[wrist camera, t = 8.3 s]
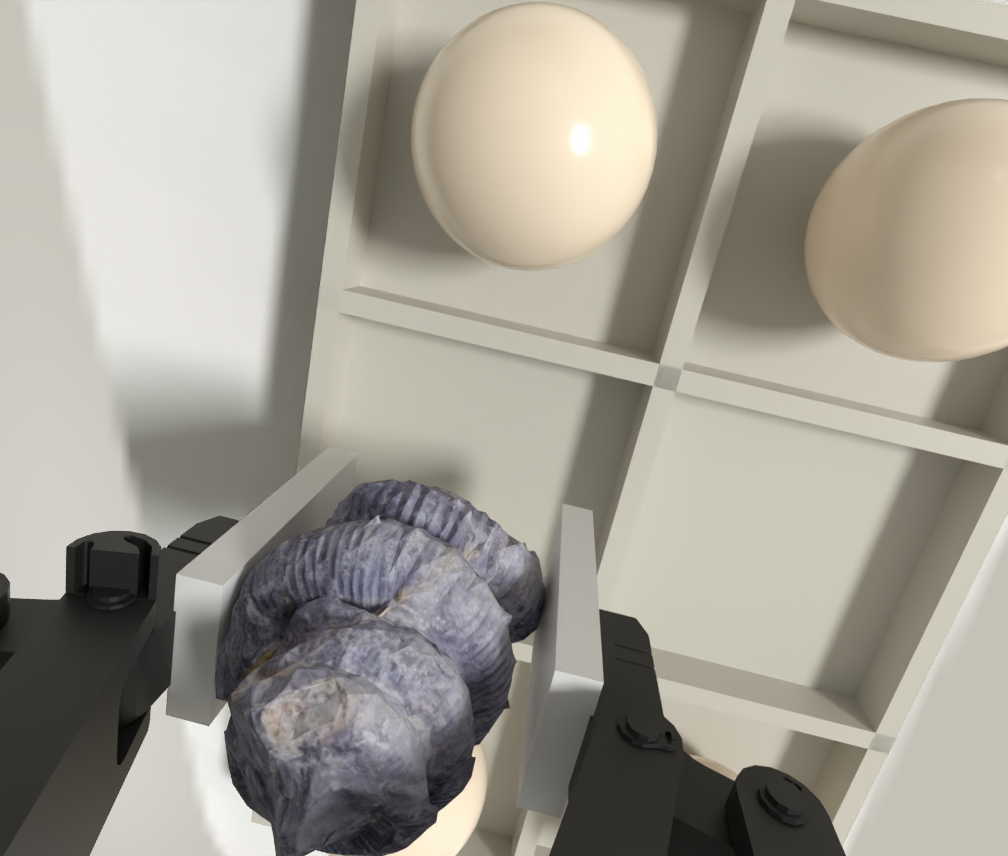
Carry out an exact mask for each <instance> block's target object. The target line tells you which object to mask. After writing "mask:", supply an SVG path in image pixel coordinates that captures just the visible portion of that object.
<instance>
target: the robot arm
mask: <svg viewBox="0 0 1008 856" xmlns="http://www.w3.org/2000/svg"><path fill="white" fill-rule="evenodd" d="M357 457H358V453H354V452H350V451H345V450H341V449H337V448H333V447H328V448H327V449H326V450H324V451H323V452H322V453H321V454H320V455H318V456H317V457H316V458H315V459H314V460H312V461H311V462H310V463H309V464H308V465H306V466H305V467H304V468H303V469H302V470H300V471H299V472H298V473H297V474H296V475H294V476H293V477H292V478H291V479H290V480H288V481H287V482H286V483H285V484H284V485H282V486H281V487H280V488H279V489H278V490H276V491H275V492H274V493H273V494H272V495H270V496H269V497H268V498H267V499H266V500H264V501H263V502H262V503H261V504H260V505H258V506H257V507H256V508H255V509H254V510H252V511H251V512H250V513H249V514H248V515H246V516H245V517H244V518H243V519H242V520H240V521H238V520H234V519H230V518H226V517H222V516H218V517H215V518H212V519H209V520H206V521H203V522H200V523H197V524H196V525H194V526H193V527H192V528H190V529H189V530H188V531H186V532H185V533H184V534H182V535H181V537H180V538H177V539H176V540H174V541H173V542H171V543H170V544H169V545H168V547H167V548H163V549H162V550H161V547H160V545H159V544H158V542H157V541H156V540H155V539H153V538H151V537H149V536H147V535H145V534H140V533H136V532H131V531H108V532H102V533H94V534H91V535H88V536H85V537H82V538H79V539H77V540H75V541H74V542H73V543H71V544H70V545H68V546H67V549H66V593H65V594H64V595H63V597H62V598H61V599H60V600H41V599H18V598H10V582H9V580H8V579H7V578H6V576H5V575H4V574H2V573H0V856H89V855H90V853H91V851H92V849H93V847H94V845H95V843H96V840H97V838H98V836H99V834H100V832H101V830H102V828H103V825H104V823H105V821H106V819H107V817H108V815H109V813H110V811H111V808H112V806H113V804H114V802H115V800H116V798H117V795H118V793H119V791H120V789H121V787H122V785H123V783H124V781H125V778H126V776H127V774H128V772H129V770H130V767H131V766H132V763H133V761H134V759H135V757H136V755H137V753H138V751H139V748H140V746H141V744H142V742H143V740H144V738H145V736H146V734H147V731H148V727H149V722H150V710H151V705H152V704H153V703H154V702H155V701H156V700H157V699H158V698H159V696H160V695H161V694H162V693H163V692H164V691H165V690H166V689H167V688H168V691H167V705H166V715H169V716H172V717H176V718H180V719H184V720H188V721H191V722H195V723H199V724H203V725H207V726H209V725H210V724H211V723H212V721H213V720H214V719H215V717H216V716H217V715H218V713H219V712H220V711H221V709H222V708H223V707H224V705H225V704H226V703H227V701H223V700H220V699H216V689H215V673H216V666H217V659H218V654H219V650H220V646H221V642H222V640H223V639H224V638H225V637H226V635H227V634H228V632H229V627H230V621H231V616H232V608H233V606H234V604H235V602H236V600H237V597H238V595H239V592H240V589H241V587H242V585H243V582H244V581H245V579H246V578H247V577H248V575H249V574H250V572H251V571H252V570H253V568H254V567H255V566H256V565H257V564H258V563H259V562H260V560H261V559H262V558H263V557H264V556H265V555H267V554H268V553H270V552H271V551H273V550H274V549H276V548H277V547H278V546H279V545H280V544H281V543H282V542H284V541H286V540H287V539H289V538H291V537H294V536H296V535H298V534H300V533H303V532H305V531H309V530H314V529H317V528H321V527H324V526H325V525H326V522H327V520H328V519H330V518H332V517H333V514H334V511H335V510H336V509H337V508H338V505H339V502H340V501H342V500H343V499H345V498H346V496H347V495H348V494H349V493H350V492H351V491H352V488H353V482H354V476H355V469H356V463H357ZM543 582H544V586H545V590H546V591H545V601H544V608H543V614H542V617H541V618H540V622H539V626H538V627H537V629H536V630H535V631H534V640H533V649H532V659H531V669H530V678H529V688H528V697H527V707H526V716H525V726H524V735H523V745H522V755H521V764H520V774H519V783H518V793H517V802H516V807H518V808H522V809H526V810H530V811H534V812H537V813H541V814H545V815H549V816H552V817H556V818H560V819H561V817H562V814H563V811H564V808H565V804H566V801H567V798H568V805H567V807H566V810H565V813H564V816H563V818H562V821H561V824H560V827H559V829H558V832H557V835H556V838H555V840H554V843H553V846H552V849H551V851H550V854H549V856H846V855H845V853H844V850H843V848H842V845H841V843H840V841H839V838H838V836H837V833H836V831H835V829H834V826H833V824H832V821H831V819H830V816H829V815H828V813H827V811H826V810H825V808H824V806H823V805H822V803H821V802H820V800H819V799H818V798H817V797H816V796H815V795H814V794H813V793H812V792H811V791H810V790H809V789H808V788H807V787H806V786H805V785H803V784H802V783H801V782H799V781H798V780H796V779H795V778H793V777H792V776H790V775H789V774H786V773H784V772H782V771H779V770H777V769H774V768H772V767H767V766H759V765H753V766H750V767H746V768H743V769H742V770H741V772H740V773H739V774H738V776H737V777H736V779H735V781H734V780H732V779H730V778H728V777H726V776H724V775H722V774H720V773H718V772H716V771H714V770H712V769H710V768H708V767H707V766H705V765H703V764H702V763H700V762H698V761H697V760H695V759H694V758H692V757H691V756H690V755H689V754H687V753H686V752H685V751H684V750H683V742H682V738H681V736H680V734H679V733H678V731H677V729H676V728H675V726H674V725H673V724H672V723H671V722H670V721H669V720H667V719H666V718H665V717H664V714H663V709H662V703H661V698H660V693H659V688H658V682H657V677H656V672H655V669H654V661H653V656H652V655H651V653H652V650H651V645H650V640H649V635H648V634H647V632H646V631H645V630H644V628H643V627H642V625H641V624H640V623H639V621H638V620H637V619H636V618H634V617H630V616H626V615H622V614H618V613H614V612H610V611H606V610H602V609H599V601H598V586H597V571H596V556H595V540H594V525H593V511H592V510H587V509H583V508H579V507H575V506H571V505H567V504H563V505H562V509H561V512H560V516H559V520H558V524H557V527H556V531H555V535H554V539H553V543H552V546H551V550H550V554H549V558H548V561H547V565H546V569H545V573H544V576H543Z"/></svg>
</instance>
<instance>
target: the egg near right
mask: <svg viewBox="0 0 1008 856" xmlns="http://www.w3.org/2000/svg"><path fill="white" fill-rule="evenodd" d="M804 261H805V269H806V275H807V279H808V282H809V286H810V289H811V291H812V293H813V296H814V298H815V300H816V302H817V303H818V305H819V306H820V308H821V310H822V311H823V313H824V314H825V315H826V316H827V317H828V319H829V320H830V321H831V322H832V323H833V324H834V326H835V327H837V328H838V329H839V330H840V331H841V332H842V333H843V334H845V335H846V336H847V337H849V338H850V339H852V340H854V341H855V342H857V343H858V344H860V345H862V346H864V347H866V348H868V349H870V350H872V351H875V352H877V353H880V354H883V355H886V356H890V357H893V358H898V359H903V360H909V361H915V362H948V361H959V360H964V359H969V358H974V357H978V356H982V355H985V354H988V353H991V352H994V351H997V350H1001V349H1003V348H1005V347H1007V346H1008V100H1004V99H992V98H969V99H961V100H954V101H948V102H944V103H940V104H936V105H932V106H929V107H925V108H922V109H919V110H917V111H914V112H912V113H909V114H907V115H904V116H902V117H900V118H898V119H897V120H895V121H893V122H891V123H889V124H887V125H886V126H884V127H882V128H880V129H879V130H877V131H876V132H874V133H873V134H872V135H870V136H869V137H867V138H866V139H865V140H863V141H862V142H861V143H860V144H859V145H858V146H857V147H855V148H854V149H853V150H852V151H851V152H850V153H849V154H848V155H847V156H846V157H845V158H844V159H843V160H842V162H841V163H840V164H839V165H838V166H837V167H836V168H835V169H834V171H833V172H832V174H831V175H830V176H829V178H828V179H827V181H826V182H825V184H824V185H823V187H822V189H821V191H820V193H819V194H818V196H817V198H816V201H815V203H814V206H813V208H812V211H811V213H810V217H809V221H808V224H807V228H806V235H805V242H804Z"/></svg>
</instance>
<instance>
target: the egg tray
mask: <svg viewBox="0 0 1008 856" xmlns="http://www.w3.org/2000/svg"><path fill="white" fill-rule="evenodd" d="M524 2H548V3H556V4H562V5H565V6H568V7H572V8H575V9H578V10H580V11H582V12H584V13H586V14H589V15H591V16H593V17H594V18H596V19H597V20H599V21H600V22H602V23H603V24H605V25H606V26H607V27H608V28H610V29H611V30H612V31H613V32H614V33H615V34H616V35H617V36H619V37H620V39H621V40H622V41H623V42H624V43H625V45H626V46H627V47H628V48H629V49H630V50H631V52H632V54H633V55H634V57H635V58H636V60H637V62H638V63H639V65H640V66H641V68H642V70H643V73H644V75H645V77H646V79H647V81H648V84H649V87H650V90H651V93H652V96H653V100H654V105H655V111H656V116H657V133H658V138H657V151H656V158H655V163H654V168H653V172H652V175H651V178H650V181H649V184H648V187H647V190H646V192H645V194H644V196H643V198H642V200H641V202H640V204H639V206H638V208H637V209H636V211H635V212H634V214H633V216H632V217H631V219H630V220H629V221H628V223H627V224H626V225H625V226H624V227H623V229H622V230H621V231H620V232H619V233H618V234H617V235H616V236H615V237H614V238H613V239H612V240H611V241H610V242H609V243H608V244H606V245H605V246H604V247H602V248H601V249H599V250H598V251H597V252H595V253H594V254H592V255H590V256H588V257H586V258H585V259H583V260H581V261H578V262H576V263H573V264H571V265H568V266H565V267H561V268H557V269H553V270H545V271H519V270H513V269H507V268H503V267H500V266H497V265H493V264H490V263H488V262H486V261H484V260H482V259H479V258H477V257H476V256H474V255H473V254H471V253H469V252H468V251H466V250H465V249H463V248H462V247H461V246H460V245H458V244H457V243H456V242H455V241H454V240H452V239H451V237H450V236H449V235H448V234H447V233H446V232H445V231H444V230H443V229H442V228H441V226H440V225H439V224H438V222H437V221H436V219H435V218H434V217H433V215H432V214H431V212H430V210H429V208H428V206H427V204H426V203H425V201H424V198H423V196H422V193H421V191H420V188H419V186H418V183H417V179H416V175H415V171H414V167H413V161H412V153H411V125H412V116H413V111H414V106H415V102H416V98H417V95H418V92H419V89H420V87H421V84H422V81H423V79H424V77H425V75H426V73H427V71H428V69H429V67H430V66H431V64H432V62H433V61H434V59H435V58H436V56H437V55H438V53H439V52H440V51H441V50H442V48H443V47H444V46H445V45H446V44H447V43H448V41H449V40H450V39H451V38H452V37H453V36H455V35H456V34H457V33H458V32H459V31H460V30H461V29H462V28H464V27H465V26H466V25H468V24H469V23H471V22H472V21H474V20H475V19H477V18H478V17H480V16H482V15H485V14H487V13H489V12H491V11H493V10H495V9H499V8H502V7H505V6H508V5H512V4H518V3H524ZM969 98H992V99H1004V100H1008V6H1005V5H1000V4H995V3H991V2H986V1H981V0H356V7H355V14H354V22H353V30H352V38H351V46H350V54H349V61H348V69H347V77H346V85H345V93H344V100H343V108H342V116H341V124H340V132H339V140H338V147H337V155H336V163H335V171H334V179H333V187H332V194H331V202H330V210H329V218H328V226H327V233H326V241H325V249H324V257H323V265H322V273H321V280H320V288H319V296H318V304H317V312H316V320H315V327H314V335H313V343H312V351H311V359H310V366H309V374H308V382H307V390H306V398H305V406H304V413H303V421H302V429H301V437H300V445H299V453H298V460H297V468H296V474H297V473H298V472H299V471H300V470H302V469H303V468H304V467H305V466H306V465H308V464H309V463H310V462H311V461H312V460H314V459H315V458H316V457H317V456H318V455H320V454H321V453H322V452H323V451H324V450H326V449H327V448H328V447H333V448H337V449H341V450H345V451H350V452H354V453H358V457H357V463H356V469H355V476H354V482H353V488H352V490H353V489H354V488H355V487H356V486H357V485H359V484H362V483H369V482H376V481H383V480H390V479H394V480H397V481H399V482H402V483H403V482H406V481H408V480H411V481H413V482H416V483H418V484H423V485H425V486H428V487H431V486H437V487H440V488H442V489H444V490H447V491H449V492H452V493H455V494H457V495H459V496H461V497H462V498H464V499H465V500H467V501H470V503H471V504H472V505H473V506H474V507H475V508H476V509H477V510H478V511H482V512H486V513H487V515H488V516H489V518H490V519H492V520H494V521H496V522H497V523H498V524H500V526H501V527H502V529H503V530H504V531H506V532H507V534H508V535H510V536H511V537H513V538H514V539H516V540H518V541H519V542H521V543H524V542H525V543H526V547H527V549H528V550H529V551H535V552H536V554H537V556H538V558H539V560H540V566H541V571H542V577H543V576H544V573H545V569H546V565H547V561H548V558H549V554H550V550H551V546H552V543H553V539H554V535H555V531H556V527H557V524H558V520H559V516H560V512H561V509H562V505H563V504H567V505H571V506H575V507H579V508H583V509H587V510H592V511H593V525H594V540H595V556H596V571H597V586H598V601H599V609H602V610H606V611H610V612H614V613H618V614H622V615H626V616H630V617H634V618H636V619H637V620H638V621H639V623H640V624H641V625H642V627H643V628H644V630H645V631H646V632H647V634H648V635H649V640H650V645H651V650H652V653H651V655H652V656H653V661H654V669H655V672H656V677H657V682H658V688H659V693H660V698H661V703H662V709H663V714H664V717H665V718H666V719H667V720H669V721H670V722H671V723H672V724H673V725H674V726H675V728H676V729H677V731H678V733H679V734H680V736H681V738H682V742H683V750H684V751H685V752H686V753H687V754H691V755H697V756H702V757H705V758H708V759H711V760H714V761H716V762H718V763H720V764H722V765H724V766H726V767H727V768H729V769H731V770H732V771H734V772H735V773H736V774H739V773H740V772H741V770H742V769H743V768H746V767H750V766H753V765H759V766H767V767H772V768H774V769H777V770H779V771H782V772H784V773H786V774H789V775H790V776H792V777H793V778H795V779H796V780H798V781H799V782H801V783H802V784H803V785H805V786H806V787H807V788H808V789H809V790H810V791H811V792H812V793H813V794H814V795H815V796H816V797H817V798H818V799H819V800H820V802H821V803H822V805H823V806H824V808H825V810H826V811H827V813H828V815H829V816H830V819H831V821H832V824H833V826H834V829H835V831H836V833H837V836H838V838H839V841H840V843H841V845H842V846H843V844H844V842H845V840H846V838H847V836H848V834H849V832H850V830H851V828H852V826H853V824H854V822H855V820H856V818H857V816H858V814H859V812H860V810H861V808H862V806H863V804H864V802H865V800H866V798H867V796H868V794H869V792H870V790H871V788H872V786H873V784H874V782H875V780H876V778H877V776H878V774H879V772H880V770H881V768H882V766H883V764H884V762H885V760H886V758H887V756H888V754H889V751H890V749H891V747H892V745H893V743H894V741H895V739H896V737H897V735H898V733H899V731H900V729H901V727H902V725H903V723H904V721H905V719H906V717H907V715H908V713H909V711H910V709H911V707H912V705H913V703H914V701H915V699H916V697H917V695H918V693H919V691H920V689H921V687H922V685H923V683H924V681H925V679H926V677H927V675H928V673H929V671H930V669H931V667H932V665H933V663H934V661H935V659H936V657H937V655H938V653H939V651H940V649H941V647H942V645H943V643H944V641H945V639H946V637H947V635H948V633H949V631H950V629H951V627H952V625H953V623H954V621H955V619H956V617H957V615H958V613H959V611H960V608H961V606H962V604H963V602H964V600H965V598H966V596H967V594H968V592H969V590H970V588H971V586H972V584H973V582H974V580H975V578H976V576H977V574H978V572H979V570H980V568H981V566H982V564H983V562H984V560H985V558H986V556H987V554H988V552H989V550H990V548H991V546H992V544H993V542H994V540H995V538H996V536H997V534H998V532H999V530H1000V528H1001V526H1002V524H1003V522H1004V520H1005V518H1006V516H1007V514H1008V346H1007V347H1005V348H1003V349H1001V350H997V351H994V352H991V353H988V354H985V355H982V356H978V357H974V358H969V359H964V360H959V361H948V362H915V361H909V360H903V359H898V358H893V357H890V356H886V355H883V354H880V353H877V352H875V351H872V350H870V349H868V348H866V347H864V346H862V345H860V344H858V343H857V342H855V341H854V340H852V339H850V338H849V337H847V336H846V335H845V334H843V333H842V332H841V331H840V330H839V329H838V328H837V327H835V326H834V324H833V323H832V322H831V321H830V320H829V319H828V317H827V316H826V315H825V314H824V313H823V311H822V310H821V308H820V306H819V305H818V303H817V302H816V300H815V298H814V296H813V293H812V291H811V289H810V286H809V282H808V279H807V275H806V269H805V261H804V242H805V235H806V228H807V224H808V221H809V217H810V213H811V211H812V208H813V206H814V203H815V201H816V198H817V196H818V194H819V193H820V191H821V189H822V187H823V185H824V184H825V182H826V181H827V179H828V178H829V176H830V175H831V174H832V172H833V171H834V169H835V168H836V167H837V166H838V165H839V164H840V163H841V162H842V160H843V159H844V158H845V157H846V156H847V155H848V154H849V153H850V152H851V151H852V150H853V149H854V148H855V147H857V146H858V145H859V144H860V143H861V142H862V141H863V140H865V139H866V138H867V137H869V136H870V135H872V134H873V133H874V132H876V131H877V130H879V129H880V128H882V127H884V126H886V125H887V124H889V123H891V122H893V121H895V120H897V119H898V118H900V117H902V116H904V115H907V114H909V113H912V112H914V111H917V110H919V109H922V108H925V107H929V106H932V105H936V104H940V103H944V102H948V101H954V100H961V99H969ZM533 640H534V632H533V633H531V634H530V635H529V636H528V637H527V638H525V639H524V640H522V641H519V642H517V643H512V650H513V654H514V656H515V659H516V661H517V663H516V664H515V666H514V670H513V674H512V682H511V686H510V690H509V694H508V700H509V705H510V709H504V711H503V712H502V714H501V715H500V717H499V718H498V719H497V721H496V722H495V724H494V725H493V727H492V728H491V730H490V733H488V734H487V735H486V736H485V738H484V739H483V740H482V744H483V748H484V751H485V756H486V763H487V789H486V796H485V801H484V805H483V809H482V812H481V815H480V817H479V820H478V822H477V825H476V827H475V829H474V831H473V832H472V834H471V836H470V837H469V839H468V841H467V842H466V844H465V845H464V846H463V847H462V849H461V850H460V851H459V852H458V853H457V854H456V856H549V854H550V851H551V849H552V846H553V843H554V840H555V838H556V835H557V832H558V829H559V827H560V824H561V821H562V818H563V816H564V813H565V810H566V807H567V805H568V798H567V801H566V804H565V808H564V811H563V814H562V817H561V819H560V818H556V817H552V816H549V815H545V814H541V813H537V812H534V811H530V810H526V809H522V808H518V807H516V802H517V793H518V783H519V774H520V764H521V755H522V745H523V735H524V726H525V716H526V707H527V697H528V688H529V678H530V669H531V659H532V649H533ZM251 822H255V823H259V824H262V825H266V826H270V827H272V826H271V823H270V822H268V821H267V820H265V819H264V818H262V817H261V816H260V815H258V814H257V813H256V812H254V811H253V812H252V820H251Z"/></svg>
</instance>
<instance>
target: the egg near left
mask: <svg viewBox="0 0 1008 856" xmlns="http://www.w3.org/2000/svg"><path fill="white" fill-rule="evenodd" d="M657 138H658V133H657V116H656V111H655V105H654V100H653V96H652V93H651V90H650V87H649V84H648V81H647V79H646V77H645V75H644V73H643V70H642V68H641V66H640V65H639V63H638V62H637V60H636V58H635V57H634V55H633V54H632V52H631V50H630V49H629V48H628V47H627V46H626V45H625V43H624V42H623V41H622V40H621V39H620V37H619V36H617V35H616V34H615V33H614V32H613V31H612V30H611V29H610V28H608V27H607V26H606V25H605V24H603V23H602V22H600V21H599V20H597V19H596V18H594V17H593V16H591V15H589V14H586V13H584V12H582V11H580V10H578V9H575V8H572V7H568V6H565V5H562V4H556V3H548V2H524V3H518V4H512V5H508V6H505V7H502V8H499V9H495V10H493V11H491V12H489V13H487V14H485V15H482V16H480V17H478V18H477V19H475V20H474V21H472V22H471V23H469V24H468V25H466V26H465V27H464V28H462V29H461V30H460V31H459V32H458V33H457V34H456V35H455V36H453V37H452V38H451V39H450V40H449V41H448V43H447V44H446V45H445V46H444V47H443V48H442V50H441V51H440V52H439V53H438V55H437V56H436V58H435V59H434V61H433V62H432V64H431V66H430V67H429V69H428V71H427V73H426V75H425V77H424V79H423V81H422V84H421V87H420V89H419V92H418V95H417V98H416V102H415V106H414V111H413V116H412V125H411V153H412V161H413V167H414V171H415V175H416V179H417V183H418V186H419V188H420V191H421V193H422V196H423V198H424V201H425V203H426V204H427V206H428V208H429V210H430V212H431V214H432V215H433V217H434V218H435V219H436V221H437V222H438V224H439V225H440V226H441V228H442V229H443V230H444V231H445V232H446V233H447V234H448V235H449V236H450V237H451V239H452V240H454V241H455V242H456V243H457V244H458V245H460V246H461V247H462V248H463V249H465V250H466V251H468V252H469V253H471V254H473V255H474V256H476V257H477V258H479V259H482V260H484V261H486V262H488V263H490V264H493V265H497V266H500V267H503V268H507V269H513V270H519V271H545V270H553V269H557V268H561V267H565V266H568V265H571V264H573V263H576V262H578V261H581V260H583V259H585V258H586V257H588V256H590V255H592V254H594V253H595V252H597V251H598V250H599V249H601V248H602V247H604V246H605V245H606V244H608V243H609V242H610V241H611V240H612V239H613V238H614V237H615V236H616V235H617V234H618V233H619V232H620V231H621V230H622V229H623V227H624V226H625V225H626V224H627V223H628V221H629V220H630V219H631V217H632V216H633V214H634V212H635V211H636V209H637V208H638V206H639V204H640V202H641V200H642V198H643V196H644V194H645V192H646V190H647V187H648V184H649V181H650V178H651V175H652V172H653V168H654V163H655V158H656V151H657Z"/></svg>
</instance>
